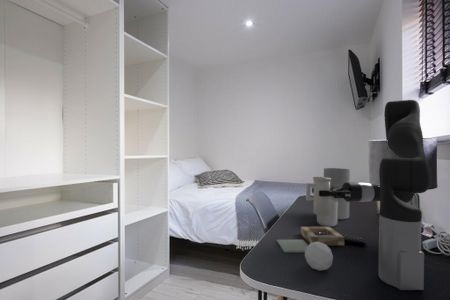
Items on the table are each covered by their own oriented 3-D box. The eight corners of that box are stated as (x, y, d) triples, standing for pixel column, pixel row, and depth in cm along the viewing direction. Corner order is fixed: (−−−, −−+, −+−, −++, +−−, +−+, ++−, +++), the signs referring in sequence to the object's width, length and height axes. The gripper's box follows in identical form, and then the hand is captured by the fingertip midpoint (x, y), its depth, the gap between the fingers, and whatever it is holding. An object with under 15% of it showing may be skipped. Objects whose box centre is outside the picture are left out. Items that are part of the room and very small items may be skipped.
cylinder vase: (354, 218, 125) (355, 169, 125) (336, 220, 120) (337, 170, 120) (335, 212, 136) (336, 167, 136) (317, 214, 132) (318, 168, 132)
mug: (335, 228, 108) (335, 203, 108) (314, 224, 113) (315, 201, 113) (339, 222, 118) (340, 199, 118) (320, 218, 123) (321, 197, 123)
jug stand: (344, 245, 90) (344, 237, 90) (312, 245, 89) (312, 237, 89) (329, 233, 102) (329, 226, 102) (300, 233, 101) (300, 226, 101)
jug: (334, 215, 92) (334, 178, 92) (309, 215, 92) (310, 178, 92) (326, 211, 99) (326, 176, 99) (303, 211, 98) (303, 176, 98)
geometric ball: (310, 276, 72) (295, 251, 76) (330, 263, 75) (315, 239, 78) (322, 276, 66) (305, 247, 69) (344, 261, 69) (326, 234, 72)
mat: (313, 252, 83) (313, 250, 83) (284, 252, 83) (284, 250, 83) (302, 241, 93) (302, 239, 93) (276, 241, 93) (276, 239, 93)
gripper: (347, 180, 103) (308, 179, 102) (369, 185, 89) (323, 185, 88) (347, 197, 103) (308, 197, 102) (369, 205, 89) (323, 205, 88)
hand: (315, 191), depth 95 cm, fingers closed on jug, 6 cm apart
